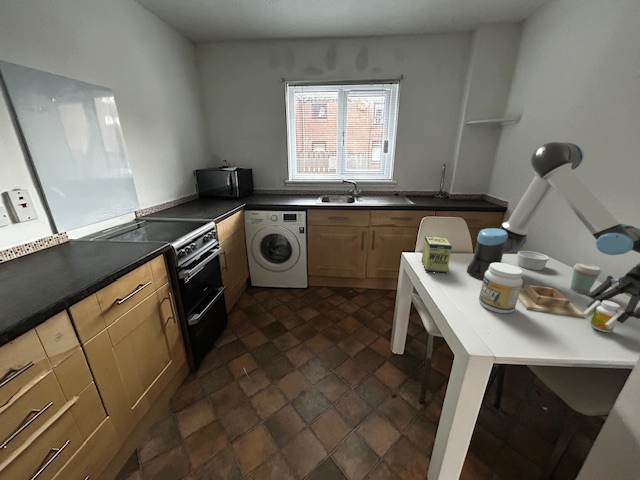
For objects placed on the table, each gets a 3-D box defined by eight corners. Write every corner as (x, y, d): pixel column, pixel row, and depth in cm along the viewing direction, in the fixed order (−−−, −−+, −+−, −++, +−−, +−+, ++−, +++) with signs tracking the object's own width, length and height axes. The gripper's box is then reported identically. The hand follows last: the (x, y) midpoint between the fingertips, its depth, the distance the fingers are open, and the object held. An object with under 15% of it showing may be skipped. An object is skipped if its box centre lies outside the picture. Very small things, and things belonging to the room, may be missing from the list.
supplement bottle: (584, 322, 90) (594, 299, 87) (598, 322, 90) (608, 298, 87) (602, 333, 85) (613, 308, 82) (616, 332, 85) (628, 307, 82)
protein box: (425, 272, 130) (429, 244, 126) (420, 261, 145) (424, 235, 140) (447, 274, 128) (452, 246, 123) (440, 262, 143) (444, 236, 138)
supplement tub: (471, 301, 104) (479, 264, 99) (490, 295, 109) (499, 259, 104) (501, 317, 94) (512, 277, 88) (521, 310, 98) (533, 271, 93)
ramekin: (514, 260, 148) (517, 248, 146) (543, 265, 141) (547, 253, 138) (515, 267, 138) (518, 255, 135) (546, 273, 130) (550, 261, 128)
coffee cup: (598, 296, 109) (608, 271, 105) (575, 294, 111) (584, 269, 107) (582, 286, 117) (591, 263, 113) (561, 285, 119) (569, 261, 115)
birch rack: (526, 309, 99) (529, 298, 98) (510, 289, 114) (512, 280, 112) (582, 317, 94) (587, 306, 93) (558, 296, 109) (561, 286, 107)
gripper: (695, 293, 77) (635, 344, 79) (616, 268, 94) (568, 311, 96) (692, 279, 74) (630, 333, 76) (611, 256, 91) (562, 300, 93)
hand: (596, 320), depth 86 cm, fingers closed on supplement bottle, 5 cm apart
